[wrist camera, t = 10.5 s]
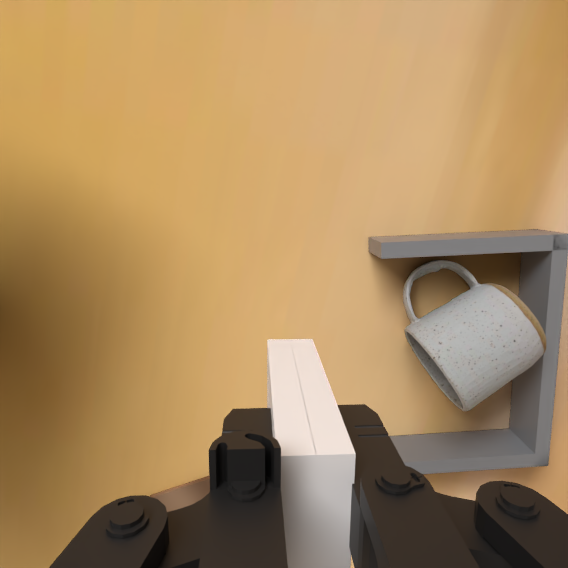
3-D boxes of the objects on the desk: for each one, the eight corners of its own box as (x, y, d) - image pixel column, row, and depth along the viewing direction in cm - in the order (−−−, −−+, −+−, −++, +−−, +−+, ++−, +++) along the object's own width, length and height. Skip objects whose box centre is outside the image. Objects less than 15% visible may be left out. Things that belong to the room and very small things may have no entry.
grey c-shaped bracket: (368, 449, 41) (380, 476, 37) (368, 237, 37) (381, 242, 33) (520, 439, 41) (548, 465, 37) (537, 229, 37) (569, 233, 33)
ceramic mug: (515, 336, 39) (575, 369, 32) (436, 387, 40) (476, 431, 32) (455, 236, 37) (503, 246, 30) (373, 292, 38) (399, 315, 30)
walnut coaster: (187, 568, 43) (185, 576, 42) (152, 491, 41) (149, 498, 40) (275, 539, 43) (276, 547, 42) (244, 460, 41) (243, 467, 40)
